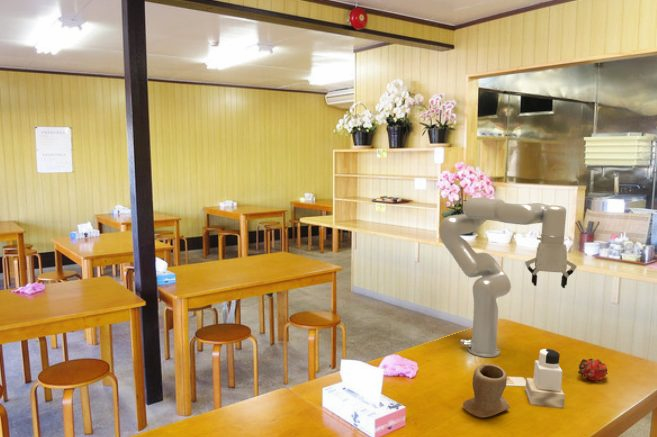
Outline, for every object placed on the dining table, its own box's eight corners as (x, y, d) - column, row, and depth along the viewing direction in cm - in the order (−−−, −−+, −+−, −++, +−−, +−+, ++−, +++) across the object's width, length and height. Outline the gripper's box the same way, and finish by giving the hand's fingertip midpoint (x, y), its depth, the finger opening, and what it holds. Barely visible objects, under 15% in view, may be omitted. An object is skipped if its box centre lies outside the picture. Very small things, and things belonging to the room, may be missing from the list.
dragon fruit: (575, 384, 181) (601, 385, 184) (592, 379, 174) (619, 380, 177) (568, 360, 185) (594, 362, 189) (585, 354, 178) (612, 356, 182)
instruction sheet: (500, 385, 176) (500, 384, 176) (495, 376, 182) (495, 375, 182) (529, 386, 175) (529, 385, 175) (523, 377, 182) (523, 377, 182)
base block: (530, 405, 163) (531, 391, 162) (525, 391, 172) (526, 377, 172) (563, 409, 160) (565, 394, 160) (556, 394, 170) (557, 380, 170)
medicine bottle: (555, 382, 168) (558, 348, 167) (560, 391, 161) (564, 356, 160) (533, 379, 170) (536, 345, 168) (537, 389, 163) (540, 353, 161)
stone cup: (485, 426, 149) (488, 378, 147) (457, 408, 159) (459, 363, 157) (520, 414, 156) (523, 368, 154) (491, 397, 167) (494, 354, 165)
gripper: (528, 240, 178) (525, 286, 181) (581, 243, 174) (577, 290, 177) (525, 236, 186) (522, 281, 188) (575, 239, 182) (571, 285, 184)
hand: (548, 286), depth 182 cm, fingers open, 9 cm apart
